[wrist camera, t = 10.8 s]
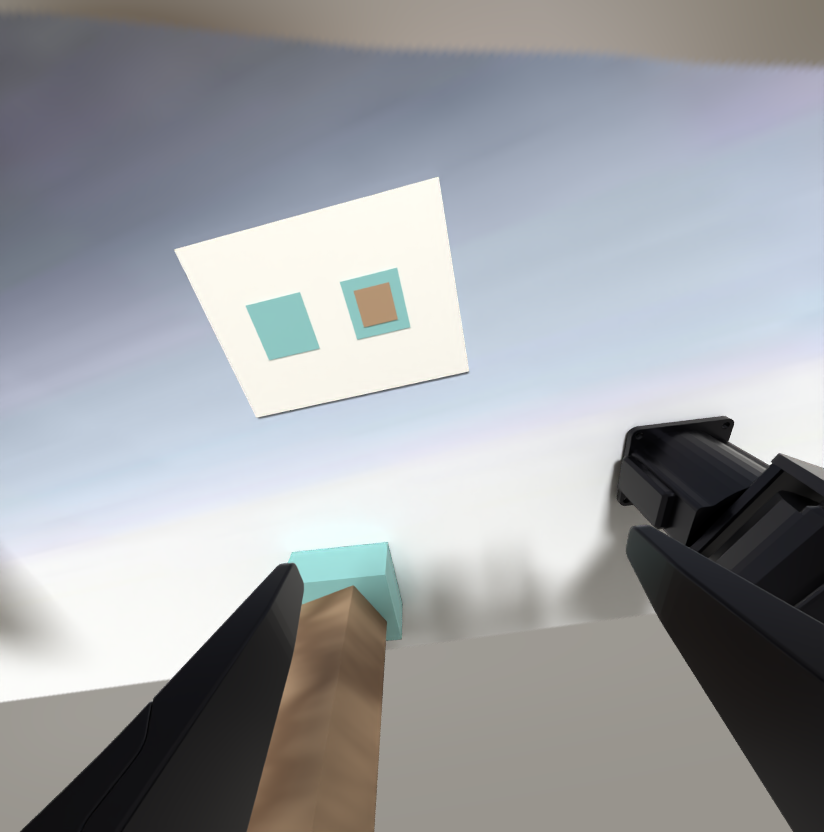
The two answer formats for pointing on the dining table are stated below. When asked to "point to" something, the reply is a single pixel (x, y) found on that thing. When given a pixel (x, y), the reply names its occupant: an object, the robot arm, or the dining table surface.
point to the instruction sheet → (334, 299)
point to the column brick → (327, 723)
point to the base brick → (354, 578)
